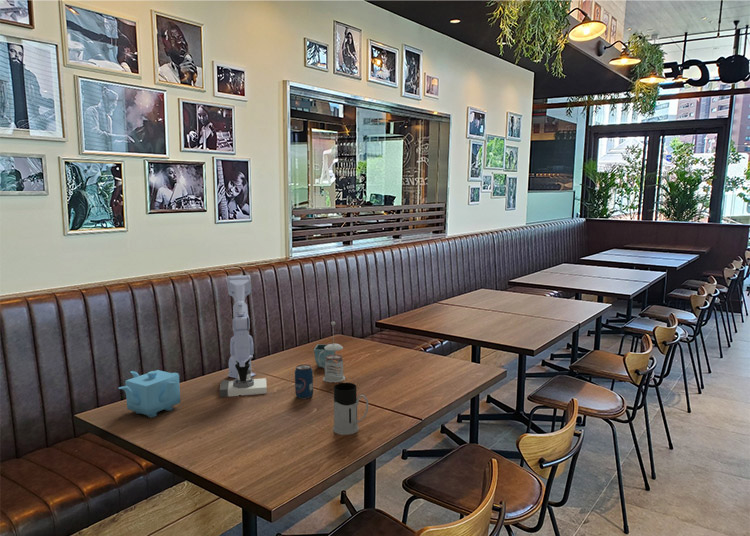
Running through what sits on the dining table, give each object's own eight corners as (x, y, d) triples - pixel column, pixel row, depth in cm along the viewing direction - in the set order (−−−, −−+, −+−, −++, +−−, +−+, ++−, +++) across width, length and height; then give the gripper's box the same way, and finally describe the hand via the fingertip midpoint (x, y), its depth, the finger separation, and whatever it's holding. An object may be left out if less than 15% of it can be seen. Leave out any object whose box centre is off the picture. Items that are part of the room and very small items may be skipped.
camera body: (220, 397, 212) (219, 387, 212) (221, 387, 223) (221, 378, 223) (266, 393, 216) (266, 383, 216) (266, 383, 227) (265, 374, 226)
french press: (344, 382, 228) (343, 324, 224) (317, 382, 228) (315, 324, 225) (346, 374, 238) (345, 318, 234) (320, 374, 238) (318, 319, 234)
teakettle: (182, 399, 211) (180, 362, 209) (178, 418, 193) (175, 378, 191) (130, 404, 206) (127, 366, 204) (120, 424, 188) (117, 383, 186)
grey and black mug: (345, 421, 189) (344, 380, 187) (376, 432, 180) (376, 389, 178) (327, 429, 183) (326, 387, 180) (359, 442, 174) (358, 397, 172)
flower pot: (336, 363, 254) (336, 344, 252) (333, 369, 245) (332, 350, 244) (317, 362, 255) (317, 344, 253) (313, 368, 246) (313, 349, 245)
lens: (235, 383, 218) (235, 370, 218) (244, 379, 223) (244, 367, 222) (244, 385, 216) (244, 373, 215) (253, 382, 220) (253, 369, 219)
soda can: (291, 397, 212) (290, 368, 210) (302, 391, 218) (301, 362, 216) (306, 400, 208) (305, 370, 207) (316, 394, 214) (316, 365, 213)
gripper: (252, 350, 211) (253, 384, 213) (252, 340, 225) (253, 372, 227) (233, 351, 209) (234, 385, 211) (234, 341, 223) (236, 373, 225)
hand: (243, 378), depth 219 cm, fingers closed on lens, 5 cm apart
